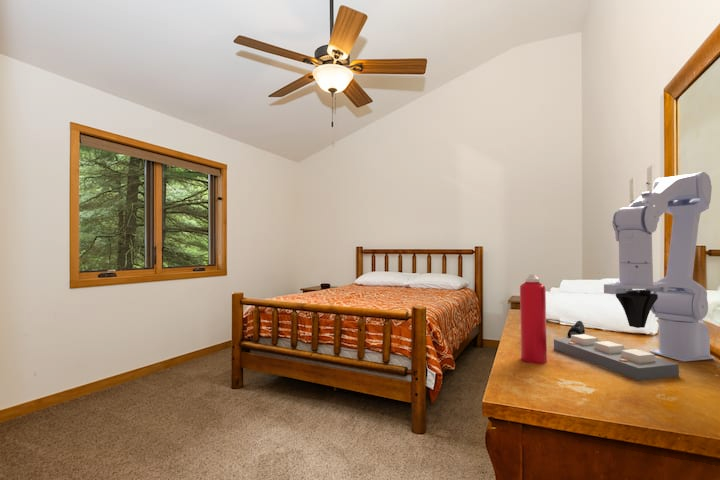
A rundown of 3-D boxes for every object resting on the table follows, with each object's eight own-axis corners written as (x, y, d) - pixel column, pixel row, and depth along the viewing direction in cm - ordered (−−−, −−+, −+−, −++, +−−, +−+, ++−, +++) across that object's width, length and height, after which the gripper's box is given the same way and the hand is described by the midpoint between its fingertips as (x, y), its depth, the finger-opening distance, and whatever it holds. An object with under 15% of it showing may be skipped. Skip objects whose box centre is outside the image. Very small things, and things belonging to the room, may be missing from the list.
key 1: (584, 346, 94) (584, 334, 94) (597, 351, 90) (597, 337, 90) (571, 347, 93) (571, 335, 93) (584, 352, 89) (583, 339, 89)
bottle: (549, 364, 83) (547, 275, 83) (522, 362, 84) (521, 275, 85) (544, 357, 88) (542, 274, 88) (519, 355, 90) (518, 273, 90)
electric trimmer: (587, 330, 117) (586, 320, 117) (582, 340, 104) (581, 329, 104) (573, 329, 119) (573, 319, 119) (566, 338, 106) (566, 327, 107)
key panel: (586, 346, 97) (586, 336, 97) (679, 376, 75) (678, 363, 75) (553, 349, 95) (553, 338, 95) (639, 380, 72) (638, 367, 73)
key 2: (636, 363, 80) (636, 349, 80) (654, 369, 76) (654, 354, 76) (621, 365, 79) (621, 350, 80) (639, 371, 76) (638, 355, 76)
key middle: (608, 354, 87) (608, 341, 87) (623, 359, 83) (623, 345, 83) (594, 355, 86) (594, 342, 86) (609, 360, 82) (609, 346, 82)
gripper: (644, 261, 84) (646, 321, 84) (591, 262, 81) (592, 324, 80) (677, 262, 77) (679, 327, 77) (620, 264, 74) (621, 332, 74)
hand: (636, 326), depth 78 cm, fingers closed
